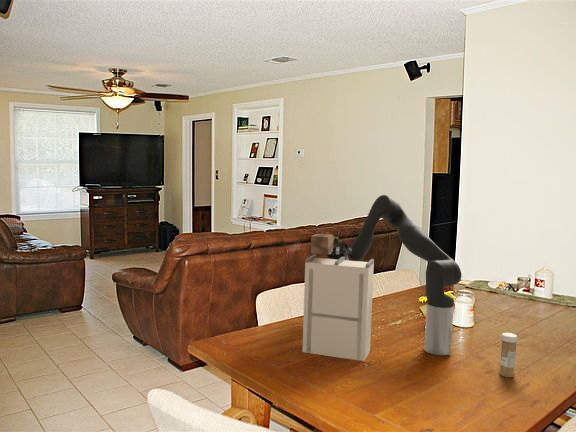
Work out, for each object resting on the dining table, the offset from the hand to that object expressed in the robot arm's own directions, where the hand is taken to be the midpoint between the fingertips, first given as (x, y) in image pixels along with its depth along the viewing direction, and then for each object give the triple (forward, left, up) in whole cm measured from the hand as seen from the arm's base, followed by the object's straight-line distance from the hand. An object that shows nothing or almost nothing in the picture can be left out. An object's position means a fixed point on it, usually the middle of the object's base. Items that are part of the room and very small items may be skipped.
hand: (329, 239), depth 189 cm
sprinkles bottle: (-62, +9, -39) cm, 74 cm away
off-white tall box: (-6, +9, -38) cm, 40 cm away
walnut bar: (0, +4, -3) cm, 5 cm away
